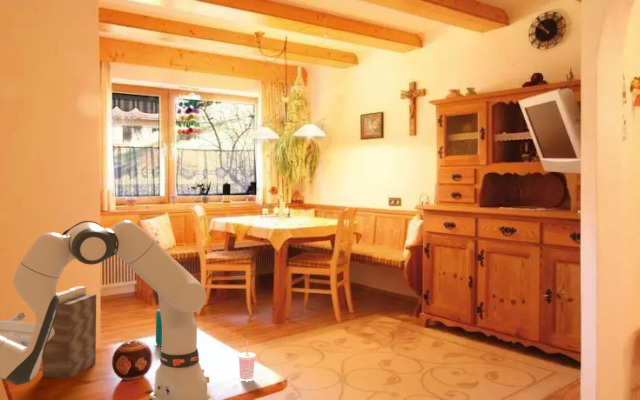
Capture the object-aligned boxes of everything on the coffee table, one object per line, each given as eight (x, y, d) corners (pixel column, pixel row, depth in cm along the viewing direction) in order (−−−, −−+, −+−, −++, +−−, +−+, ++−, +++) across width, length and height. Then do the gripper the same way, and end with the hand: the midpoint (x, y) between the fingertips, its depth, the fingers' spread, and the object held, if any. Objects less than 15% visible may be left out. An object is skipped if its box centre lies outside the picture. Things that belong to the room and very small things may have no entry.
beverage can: (172, 343, 224) (172, 308, 224) (166, 347, 219) (167, 311, 218) (158, 342, 225) (159, 307, 224) (153, 346, 219) (154, 310, 219)
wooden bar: (42, 310, 173) (42, 301, 173) (33, 309, 173) (33, 300, 173) (86, 294, 197) (86, 286, 196) (78, 293, 197) (78, 285, 197)
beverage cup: (252, 375, 191) (253, 337, 190) (257, 381, 185) (258, 342, 185) (235, 377, 188) (236, 339, 187) (240, 384, 183) (241, 344, 182)
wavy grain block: (68, 379, 182) (69, 304, 181) (42, 376, 184) (42, 302, 183) (95, 363, 198) (96, 294, 197) (71, 360, 200) (71, 292, 199)
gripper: (35, 343, 157) (61, 309, 168) (-26, 338, 160) (4, 305, 172) (42, 357, 160) (67, 324, 172) (-18, 352, 164) (11, 319, 175)
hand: (35, 315), depth 172 cm, fingers open, 8 cm apart
